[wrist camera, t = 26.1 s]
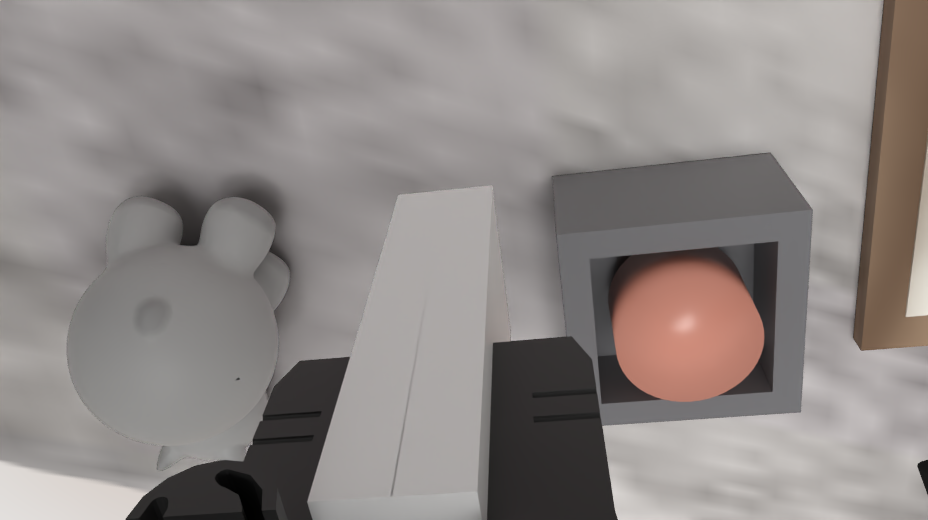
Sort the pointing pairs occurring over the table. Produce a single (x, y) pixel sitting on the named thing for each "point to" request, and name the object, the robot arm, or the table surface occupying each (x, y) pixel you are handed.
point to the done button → (684, 324)
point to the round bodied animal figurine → (181, 329)
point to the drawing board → (897, 189)
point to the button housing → (684, 228)
